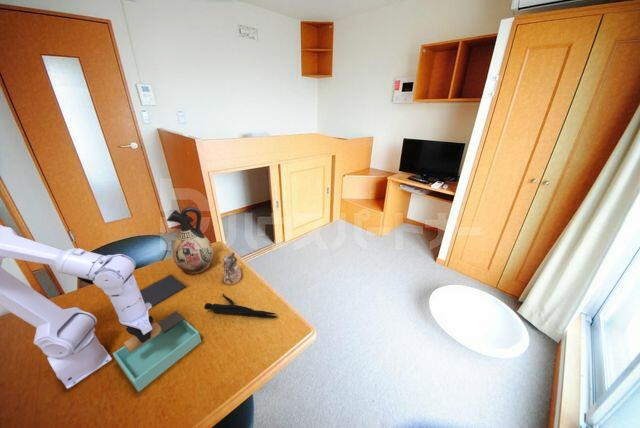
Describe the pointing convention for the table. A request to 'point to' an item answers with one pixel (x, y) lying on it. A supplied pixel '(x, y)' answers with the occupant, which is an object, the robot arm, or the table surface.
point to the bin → (157, 354)
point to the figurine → (231, 269)
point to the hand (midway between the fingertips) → (143, 337)
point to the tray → (161, 290)
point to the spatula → (156, 330)
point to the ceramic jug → (191, 243)
